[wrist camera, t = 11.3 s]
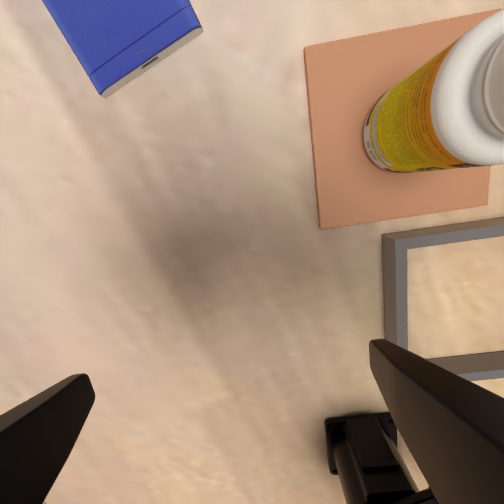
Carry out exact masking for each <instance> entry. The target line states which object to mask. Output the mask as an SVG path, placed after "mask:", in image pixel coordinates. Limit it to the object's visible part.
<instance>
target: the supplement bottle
mask: <svg viewBox="0 0 504 504" xmlns="http://www.w3.org/2000/svg"><path fill="white" fill-rule="evenodd" d="M363 135H364V144H365V148H366V151H367V153H368V155H369V157H370V158H371V160H372V161H373V162H374V163H375V164H376V165H377V166H379V167H380V168H382V169H384V170H386V171H389V172H393V173H412V172H423V171H435V170H446V169H455V168H468V167H480V166H491V165H498V164H504V10H502V11H499V12H497V13H495V14H493V15H491V16H489V17H488V18H486V19H484V20H483V21H481V22H480V23H478V24H477V25H475V26H474V27H473V28H471V29H470V30H469V31H467V32H466V33H465V34H463V35H462V36H461V37H459V38H458V39H457V40H455V41H454V42H453V43H451V44H450V45H449V46H447V47H446V48H445V49H443V50H442V51H440V52H439V53H438V54H436V55H435V56H434V57H432V58H431V59H430V60H428V61H427V62H426V63H424V64H423V65H421V66H420V67H419V68H417V69H416V70H415V71H413V72H412V73H411V74H409V75H408V76H407V77H405V78H404V79H403V80H401V81H400V82H399V83H397V84H396V85H395V86H393V87H392V88H391V89H389V90H388V91H387V92H385V93H384V94H383V95H382V96H381V97H380V98H379V99H378V100H377V101H376V102H375V104H374V105H373V107H372V108H371V110H370V112H369V114H368V116H367V119H366V121H365V126H364V134H363Z"/></svg>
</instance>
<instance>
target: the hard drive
mask: <svg viewBox="0 0 504 504" xmlns="http://www.w3.org/2000/svg"><path fill="white" fill-rule="evenodd" d="M42 1H43V3H44V4H45V6H46V7H47V9H48V11H49V12H50V14H51V16H52V17H53V19H54V21H55V22H56V24H57V26H58V27H59V29H60V31H61V32H62V34H63V36H64V37H65V39H66V41H67V42H68V44H69V45H70V47H71V49H72V50H73V52H74V54H75V55H76V57H77V58H78V60H79V62H80V63H81V65H82V67H83V68H84V70H85V71H86V73H87V75H88V76H89V78H90V80H91V82H92V83H93V85H94V87H95V88H96V90H97V92H98V93H99V94H100V95H101V96H103V97H105V98H106V97H107V96H109V95H110V94H112V93H113V92H115V91H116V90H118V89H119V88H121V87H122V86H124V85H125V84H127V83H128V82H129V81H131V80H132V79H134V78H135V77H137V76H138V75H140V74H141V73H143V72H144V71H146V70H147V69H149V68H150V67H152V66H153V65H155V64H156V63H158V62H159V61H160V60H162V59H163V58H165V57H166V56H168V55H169V54H171V53H172V52H174V51H175V50H177V49H178V48H180V47H181V46H183V45H184V44H186V43H187V42H189V41H190V40H192V39H193V38H195V37H196V36H198V35H199V34H201V33H202V32H203V29H202V26H201V24H200V22H199V20H198V18H197V16H196V14H195V12H194V10H193V8H192V6H191V3H190V2H189V0H42Z"/></svg>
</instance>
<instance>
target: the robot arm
mask: <svg viewBox="0 0 504 504" xmlns="http://www.w3.org/2000/svg"><path fill="white" fill-rule="evenodd" d="M369 354H370V367H371V370H372V373H373V375H374V378H375V380H376V382H377V384H378V387H379V389H380V391H381V394H382V396H383V398H384V400H385V403H386V405H387V407H388V410H389V412H390V413H386V414H375V415H365V416H354V417H344V418H334V419H327V420H326V421H325V423H324V424H325V434H326V443H327V453H328V462H329V469H330V472H331V474H333V475H339V478H340V481H341V485H342V489H343V492H344V496H345V500H346V503H347V504H504V398H502V397H500V396H498V395H496V394H494V393H492V392H490V391H488V390H486V389H484V388H482V387H480V386H478V385H476V384H474V383H472V382H470V381H468V380H466V379H464V378H462V377H460V376H458V375H456V374H454V373H452V372H450V371H448V370H446V369H444V368H442V367H440V366H438V365H436V364H434V363H432V362H430V361H428V360H426V359H424V358H422V357H420V356H418V355H416V354H414V353H412V352H410V351H408V350H406V349H404V348H402V347H400V346H398V345H396V344H394V343H392V342H390V341H388V340H386V339H375V340H371V341H370V342H369ZM94 401H95V392H94V390H93V387H92V384H91V382H90V379H89V376H88V375H87V374H84V373H83V374H75V375H71V376H69V377H67V378H66V379H64V380H62V381H60V382H59V383H57V384H55V385H53V386H52V387H50V388H48V389H46V390H45V391H43V392H41V393H39V394H37V395H36V396H34V397H32V398H30V399H29V400H27V401H25V402H23V403H22V404H20V405H18V406H16V407H14V408H13V409H11V410H9V411H7V412H6V413H4V414H2V415H0V504H42V503H43V502H44V500H45V498H46V496H47V495H48V493H49V491H50V489H51V487H52V486H53V484H54V482H55V480H56V479H57V477H58V475H59V473H60V471H61V470H62V468H63V466H64V464H65V462H66V460H67V459H68V457H69V455H70V453H71V451H72V449H73V447H74V444H75V442H76V440H77V438H78V436H79V434H80V432H81V429H82V427H83V425H84V423H85V421H86V419H87V416H88V414H89V412H90V410H91V408H92V406H93V404H94ZM397 429H398V431H399V432H400V434H401V436H402V438H403V440H404V441H405V443H406V445H407V447H408V449H409V450H410V452H411V454H412V456H413V458H414V459H415V461H416V463H417V465H418V466H419V468H420V470H421V472H422V474H423V475H424V477H425V479H426V481H427V483H428V484H429V486H428V487H429V488H428V489H425V490H422V491H420V492H419V490H418V488H417V486H416V484H415V482H414V480H413V478H412V476H411V474H410V472H409V471H408V469H407V467H406V465H405V463H404V461H403V459H402V457H401V455H400V453H399V451H398V449H397Z"/></svg>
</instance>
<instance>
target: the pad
mask: <svg viewBox="0 0 504 504" xmlns="http://www.w3.org/2000/svg"><path fill="white" fill-rule="evenodd" d="M499 11H501V9H496V10H491V11H486V12H481V13H476V14H470V15H465V16H460V17H455V18H450V19H445V20H440V21H434V22H429V23H424V24H419V25H414V26H409V27H404V28H398V29H393V30H388V31H383V32H378V33H373V34H368V35H363V36H357V37H352V38H347V39H342V40H337V41H332V42H327V43H321V44H316V45H311V46H306V47H305V48H304V59H305V70H306V81H307V92H308V103H309V114H310V126H311V137H312V148H313V159H314V170H315V181H316V192H317V203H318V214H319V225H320V229H327V228H334V227H341V226H347V225H354V224H361V223H368V222H375V221H382V220H388V219H395V218H402V217H409V216H416V215H423V214H430V213H436V212H443V211H450V210H457V209H464V208H471V207H478V206H484V205H487V204H488V190H489V176H490V166H480V167H468V168H455V169H446V170H435V171H423V172H412V173H393V172H389V171H386V170H384V169H382V168H380V167H379V166H377V165H376V164H375V163H374V162H373V161H372V160H371V158H370V157H369V155H368V153H367V151H366V148H365V144H364V135H363V134H364V126H365V121H366V119H367V116H368V114H369V112H370V110H371V108H372V107H373V105H374V104H375V102H376V101H377V100H378V99H379V98H380V97H381V96H382V95H383V94H384V93H385V92H387V91H388V90H389V89H391V88H392V87H393V86H395V85H396V84H397V83H399V82H400V81H401V80H403V79H404V78H405V77H407V76H408V75H409V74H411V73H412V72H413V71H415V70H416V69H417V68H419V67H420V66H421V65H423V64H424V63H426V62H427V61H428V60H430V59H431V58H432V57H434V56H435V55H436V54H438V53H439V52H440V51H442V50H443V49H445V48H446V47H447V46H449V45H450V44H451V43H453V42H454V41H455V40H457V39H458V38H459V37H461V36H462V35H463V34H465V33H466V32H467V31H469V30H470V29H471V28H473V27H474V26H475V25H477V24H478V23H480V22H481V21H483V20H484V19H486V18H488V17H489V16H491V15H493V14H495V13H497V12H499Z"/></svg>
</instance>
